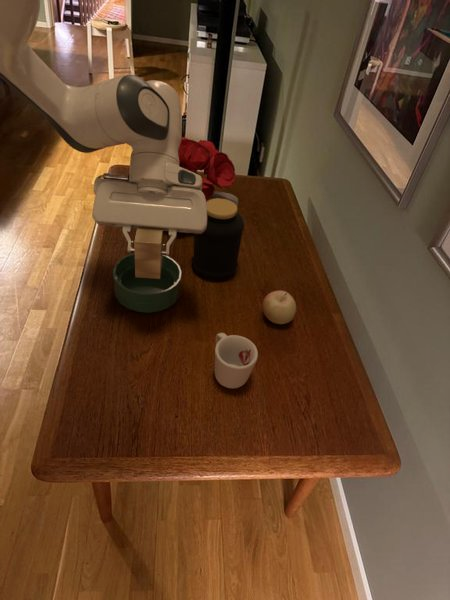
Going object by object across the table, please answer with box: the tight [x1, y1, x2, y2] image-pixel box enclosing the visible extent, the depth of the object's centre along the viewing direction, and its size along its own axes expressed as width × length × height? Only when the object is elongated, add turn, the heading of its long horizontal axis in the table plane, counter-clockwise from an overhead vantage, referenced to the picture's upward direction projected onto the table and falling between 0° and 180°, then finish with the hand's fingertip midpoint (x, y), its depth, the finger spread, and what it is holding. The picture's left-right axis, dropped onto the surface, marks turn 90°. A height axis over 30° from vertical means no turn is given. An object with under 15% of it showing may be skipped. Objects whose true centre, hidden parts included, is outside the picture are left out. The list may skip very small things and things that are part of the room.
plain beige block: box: [133, 227, 164, 279], centre depth 73 cm, size 4×4×8 cm
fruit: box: [261, 289, 297, 325], centre depth 90 cm, size 8×7×8 cm
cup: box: [214, 332, 259, 389], centre depth 77 cm, size 11×8×8 cm
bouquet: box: [178, 136, 239, 207], centre depth 113 cm, size 22×24×30 cm
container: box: [191, 198, 245, 279], centre depth 97 cm, size 12×12×18 cm
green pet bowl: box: [112, 253, 183, 314], centre depth 91 cm, size 15×15×6 cm
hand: (148, 253), depth 72 cm, fingers closed on plain beige block, 4 cm apart
